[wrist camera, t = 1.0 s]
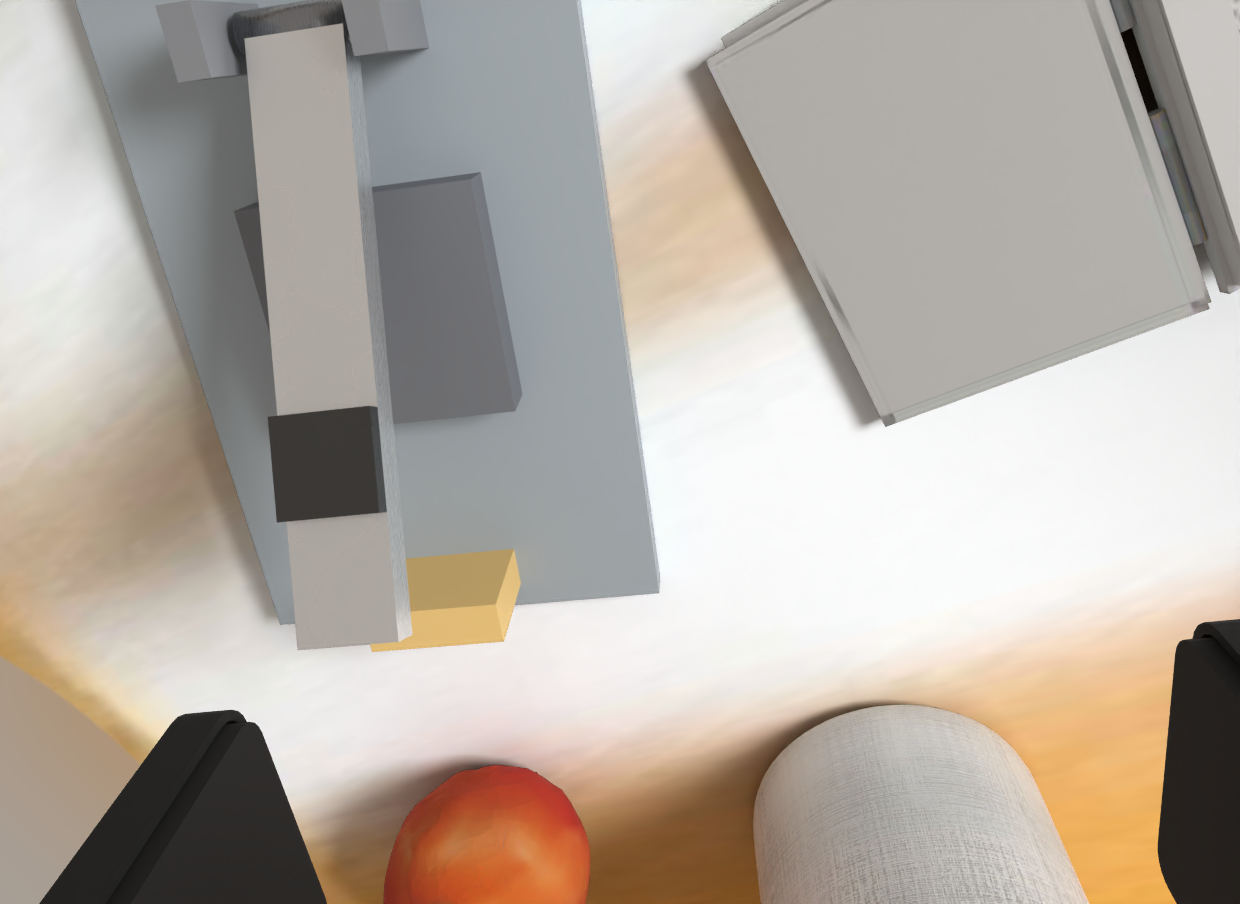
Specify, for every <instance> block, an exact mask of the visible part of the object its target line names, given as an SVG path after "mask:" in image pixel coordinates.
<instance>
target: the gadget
mask: <svg viewBox="0 0 1240 904" xmlns="http://www.w3.org/2000/svg"><path fill="white" fill-rule="evenodd" d="M1130 28H1132V30H1133V33H1134V36H1135V39H1136V42H1137V45H1138V48H1139V51H1140V54H1141V57H1142V60H1143V63H1144V66H1145V69H1146V72H1147V75H1148V78H1149V81H1150V84H1151V87H1152V90H1153V93H1154V96H1155V99H1156V102H1157V105H1158V109H1155V110H1153V111H1151V112H1149V113H1147V111H1146V108H1145V105H1144V102H1143V99H1142V96H1141V93H1140V90H1139V87H1138V84H1137V81H1136V78H1135V75H1134V72H1133V69H1132V66H1131V63H1130V60H1129V57H1128V55H1127V52H1126V49H1125V46H1124V43H1123V40H1122V37H1121V34H1120V33H1121V32H1123V31H1126V30H1128V29H1130ZM721 40H722V42H723V44H724V46H725V49H723V50H721V51H720V52H718V53H716V54H715V55H713V56H711V57H710V58H708V59H707V60H706V63H707V65H708V67H709V69H710V71H711V73H712V75H713V77H714V79H715V81H716V83H717V85H718V88H719V90H720V92H721V94H722V96H723V98H724V100H725V102H726V104H727V106H728V108H729V110H730V112H731V114H732V116H733V118H734V120H735V122H736V124H737V126H738V128H739V130H740V132H741V134H742V136H743V138H744V140H745V142H746V144H747V146H748V149H749V151H750V153H751V155H752V157H753V159H754V161H755V163H756V165H757V167H758V169H759V171H760V173H761V175H762V177H763V179H764V181H765V183H766V185H767V187H768V189H769V191H770V193H771V195H772V197H773V199H774V201H775V203H776V205H777V208H778V210H779V212H780V214H781V216H782V218H783V220H784V222H785V224H786V226H787V228H788V230H789V232H790V234H791V236H792V238H793V240H794V242H795V244H796V246H797V248H798V250H799V252H800V254H801V256H802V258H803V260H804V262H805V264H806V266H807V269H808V271H809V273H810V275H811V277H812V279H813V281H814V283H815V285H816V287H817V289H818V291H819V293H820V295H821V297H822V299H823V301H824V303H825V305H826V307H827V309H828V311H829V313H830V315H831V317H832V319H833V321H834V323H835V325H836V328H837V330H838V332H839V334H840V336H841V338H842V340H843V342H844V344H845V346H846V348H847V350H848V352H849V354H850V356H851V358H852V360H853V362H854V364H855V366H856V368H857V370H858V372H859V374H860V376H861V378H862V380H863V382H864V384H865V386H866V389H867V391H868V393H869V395H870V397H871V399H872V401H873V403H874V405H875V407H876V409H877V411H878V413H879V415H880V417H881V419H882V421H883V423H884V425H885V427H887V426H889V425H892V424H895V423H897V422H900V421H903V420H906V419H908V418H911V417H914V416H917V415H919V414H922V413H925V412H928V411H930V410H933V409H936V408H939V407H941V406H944V405H947V404H950V403H952V402H955V401H958V400H961V399H963V398H966V397H969V396H972V395H974V394H977V393H980V392H983V391H985V390H988V389H991V388H994V387H996V386H999V385H1002V384H1004V383H1007V382H1010V381H1013V380H1015V379H1018V378H1021V377H1024V376H1026V375H1029V374H1032V373H1035V372H1037V371H1040V370H1043V369H1046V368H1048V367H1051V366H1054V365H1057V364H1059V363H1062V362H1065V361H1068V360H1070V359H1073V358H1076V357H1079V356H1081V355H1084V354H1087V353H1090V352H1092V351H1095V350H1098V349H1101V348H1103V347H1106V346H1109V345H1111V344H1114V343H1117V342H1120V341H1122V340H1125V339H1128V338H1131V337H1133V336H1136V335H1139V334H1142V333H1144V332H1147V331H1150V330H1153V329H1155V328H1158V327H1161V326H1164V325H1166V324H1169V323H1172V322H1175V321H1177V320H1180V319H1183V318H1186V317H1188V316H1191V315H1194V314H1197V313H1199V312H1202V311H1205V310H1208V309H1209V306H1208V303H1210V302H1211V300H1210V297H1209V294H1208V291H1207V288H1206V285H1205V282H1204V279H1203V276H1202V273H1201V270H1200V267H1199V264H1198V261H1197V258H1196V255H1195V252H1194V249H1193V246H1196V245H1199V244H1202V243H1204V245H1205V248H1206V251H1207V254H1208V257H1209V260H1210V263H1211V266H1212V269H1213V272H1214V275H1215V278H1216V281H1217V284H1218V287H1219V290H1220V292H1223V293H1228V294H1230V293H1232V292H1234V291H1236V290H1238V289H1239V288H1240V0H784V1H782V2H780V3H779V4H777V5H775V6H774V7H772V8H770V9H769V10H767V11H765V12H764V13H762V14H760V15H759V16H757V17H755V18H754V19H752V20H750V21H749V22H747V23H745V24H744V25H742V26H740V27H739V28H737V29H735V30H734V31H732V32H730V33H729V34H727V35H725V36H724V37H722V38H721Z"/></svg>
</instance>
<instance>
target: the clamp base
mask: <svg viewBox="0 0 1240 904" xmlns="http://www.w3.org/2000/svg"><path fill="white" fill-rule="evenodd" d="M75 1H76V4H77V7H78V10H79V13H80V17H81V20H82V23H83V26H84V29H85V32H86V35H87V38H88V41H89V44H90V47H91V50H92V53H93V56H94V59H95V62H96V65H97V68H98V71H99V74H100V77H101V80H102V83H103V86H104V90H105V93H106V96H107V99H108V102H109V105H110V108H111V111H112V114H113V117H114V120H115V123H116V126H117V129H118V132H119V135H120V138H121V141H122V144H123V147H124V150H125V153H126V156H127V159H128V163H129V166H130V169H131V172H132V175H133V178H134V181H135V184H136V187H137V190H138V193H139V196H140V199H141V202H142V205H143V208H144V211H145V214H146V217H147V220H148V223H149V226H150V229H151V232H152V236H153V239H154V242H155V245H156V248H157V251H158V254H159V257H160V260H161V263H162V266H163V269H164V272H165V275H166V278H167V281H168V284H169V287H170V290H171V293H172V296H173V299H174V302H175V306H176V309H177V312H178V315H179V318H180V321H181V324H182V327H183V330H184V333H185V336H186V339H187V342H188V345H189V348H190V351H191V354H192V357H193V360H194V363H195V366H196V369H197V372H198V375H199V379H200V382H201V385H202V388H203V391H204V394H205V397H206V400H207V403H208V406H209V409H210V412H211V415H212V418H213V421H214V424H215V427H216V430H217V433H218V436H219V439H220V442H221V445H222V448H223V452H224V455H225V458H226V461H227V464H228V467H229V470H230V473H231V476H232V479H233V482H234V485H235V488H236V491H237V494H238V497H239V500H240V503H241V506H242V509H243V512H244V515H245V518H246V521H247V525H248V528H249V531H250V534H251V537H252V540H253V543H254V546H255V549H256V552H257V555H258V558H259V561H260V564H261V567H262V570H263V573H264V576H265V579H266V582H267V585H268V588H269V591H270V594H271V598H272V601H273V604H274V607H275V610H276V613H277V616H278V619H279V622H280V625H283V624H295V612H294V601H293V589H292V578H291V567H290V555H289V544H288V532H287V522H279V523H277V519H276V508H275V496H274V485H273V473H272V462H271V450H270V439H269V427H268V417H270V416H277V406H276V395H275V383H274V372H273V360H272V349H271V337H270V326H269V315H268V303H267V292H266V280H265V269H264V257H263V246H262V234H261V223H260V211H259V200H258V189H257V177H256V166H255V154H254V143H253V131H252V120H251V108H250V97H249V85H248V74H247V62H246V60H245V59H244V58H243V56H242V55H241V53H240V52H239V50H238V47H237V45H236V42H235V39H234V36H233V31H232V16H233V14H234V13H235V12H237V11H244V10H250V9H256V8H263V7H269V6H275V5H282V4H288V3H294V2H300V1H307V0H75ZM341 1H342V5H343V9H344V14H345V18H346V22H347V27H348V31H349V36H350V40H351V44H352V49H353V53H354V56H360V61H361V72H362V83H363V94H364V105H365V116H366V127H367V138H368V149H369V160H370V171H371V183H372V194H373V205H374V216H375V227H376V238H377V249H378V260H379V271H380V282H381V293H382V304H383V315H384V326H385V337H386V348H387V359H388V370H389V381H390V392H391V403H392V414H393V425H394V436H395V447H396V458H397V469H398V480H399V491H400V502H401V513H402V524H403V536H404V547H405V558H406V569H407V580H408V591H409V602H410V613H411V624H412V635H411V636H409V637H407V638H405V639H403V640H402V641H400V642H393V643H380V644H370V645H371V649H372V652H378V651H390V650H403V649H415V648H428V647H441V646H453V645H466V644H478V643H491V642H504V639H505V636H506V633H507V629H508V626H509V622H510V619H511V615H512V612H513V609H514V605H523V604H535V603H547V602H559V601H571V600H583V599H595V598H607V597H619V596H631V595H643V594H655V593H659V588H660V574H659V567H658V560H657V553H656V545H655V538H654V531H653V524H652V516H651V509H650V502H649V495H648V487H647V480H646V473H645V466H644V458H643V451H642V444H641V437H640V429H639V422H638V415H637V408H636V400H635V393H634V386H633V379H632V371H631V364H630V357H629V350H628V342H627V335H626V328H625V321H624V314H623V306H622V299H621V292H620V285H619V277H618V270H617V263H616V256H615V248H614V241H613V234H612V227H611V219H610V212H609V205H608V198H607V190H606V183H605V176H604V169H603V161H602V154H601V147H600V140H599V132H598V125H597V118H596V111H595V104H594V96H593V89H592V82H591V75H590V67H589V60H588V53H587V46H586V38H585V31H584V24H583V17H582V9H581V2H580V0H341Z"/></svg>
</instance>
